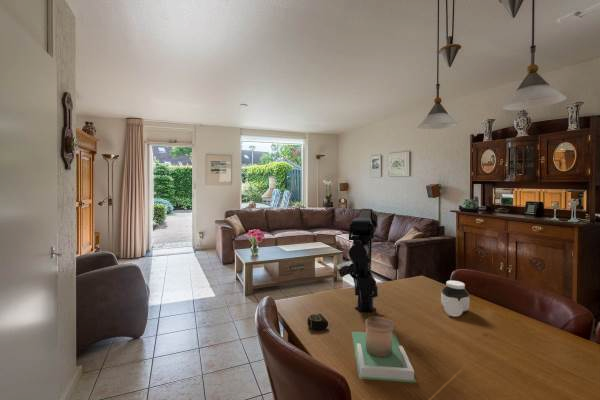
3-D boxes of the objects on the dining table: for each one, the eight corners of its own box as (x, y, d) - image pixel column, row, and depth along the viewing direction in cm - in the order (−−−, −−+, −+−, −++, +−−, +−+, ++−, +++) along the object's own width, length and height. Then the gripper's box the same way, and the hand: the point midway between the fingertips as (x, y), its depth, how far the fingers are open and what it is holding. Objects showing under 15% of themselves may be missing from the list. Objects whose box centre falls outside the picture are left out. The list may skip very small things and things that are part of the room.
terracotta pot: (375, 340, 96) (376, 314, 96) (398, 351, 90) (398, 323, 89) (359, 349, 91) (359, 321, 91) (382, 362, 84) (382, 332, 84)
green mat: (351, 332, 102) (351, 331, 102) (394, 335, 101) (394, 333, 101) (359, 379, 77) (359, 378, 77) (416, 383, 76) (416, 382, 76)
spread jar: (460, 306, 125) (461, 280, 125) (477, 318, 114) (478, 289, 114) (433, 306, 125) (434, 280, 125) (448, 318, 114) (448, 289, 113)
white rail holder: (356, 351, 90) (356, 343, 90) (402, 353, 89) (402, 346, 89) (361, 376, 78) (361, 367, 78) (413, 380, 77) (414, 371, 76)
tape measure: (328, 330, 104) (329, 320, 104) (311, 333, 102) (311, 322, 102) (321, 321, 111) (321, 312, 110) (304, 324, 109) (305, 314, 108)
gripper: (335, 248, 110) (334, 288, 111) (342, 262, 92) (341, 309, 93) (364, 248, 110) (363, 288, 111) (376, 262, 92) (376, 310, 93)
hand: (360, 298), depth 102 cm, fingers open, 9 cm apart
